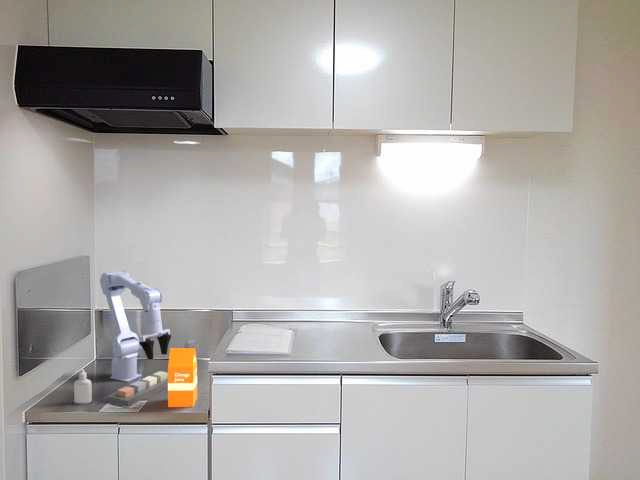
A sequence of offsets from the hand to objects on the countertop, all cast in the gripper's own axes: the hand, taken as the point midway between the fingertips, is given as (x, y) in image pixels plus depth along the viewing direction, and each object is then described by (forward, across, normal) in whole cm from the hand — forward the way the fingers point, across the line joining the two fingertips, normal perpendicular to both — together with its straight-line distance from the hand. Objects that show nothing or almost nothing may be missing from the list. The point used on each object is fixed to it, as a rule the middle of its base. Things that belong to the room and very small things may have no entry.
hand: (157, 356), depth 183 cm
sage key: (+10, +6, +6) cm, 13 cm away
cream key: (+11, 0, +6) cm, 12 cm away
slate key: (+11, -6, +6) cm, 14 cm away
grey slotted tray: (+12, -3, +6) cm, 14 cm away
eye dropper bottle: (+11, -20, +18) cm, 29 cm away
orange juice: (+16, -5, -14) cm, 22 cm away
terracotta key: (+11, -12, +6) cm, 17 cm away
